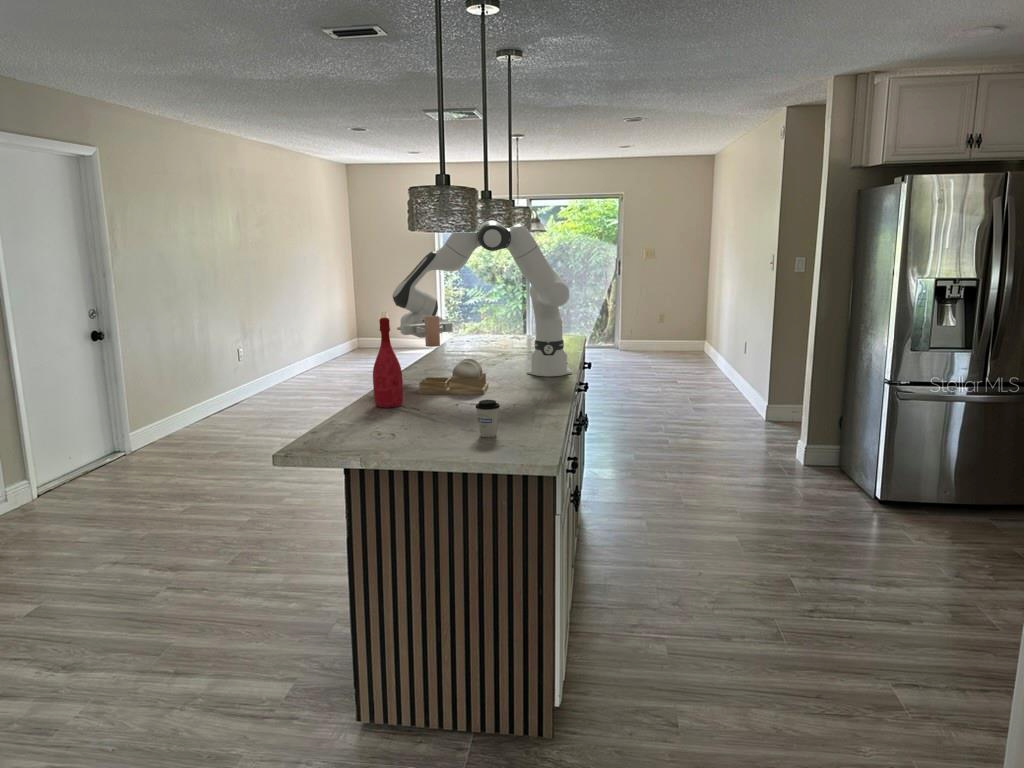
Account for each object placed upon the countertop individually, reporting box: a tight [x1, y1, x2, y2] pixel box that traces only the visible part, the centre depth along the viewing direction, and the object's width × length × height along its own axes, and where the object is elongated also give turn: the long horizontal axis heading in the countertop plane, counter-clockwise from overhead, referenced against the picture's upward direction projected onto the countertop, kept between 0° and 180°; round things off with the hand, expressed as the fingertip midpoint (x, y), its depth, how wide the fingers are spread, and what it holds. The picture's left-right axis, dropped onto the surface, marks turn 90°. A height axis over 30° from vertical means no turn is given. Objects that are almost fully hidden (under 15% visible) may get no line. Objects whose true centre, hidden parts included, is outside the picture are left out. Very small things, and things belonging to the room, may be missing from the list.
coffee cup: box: [475, 399, 501, 438], centre depth 194 cm, size 7×7×10 cm
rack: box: [418, 357, 489, 395], centre depth 255 cm, size 13×24×12 cm, turn 84°
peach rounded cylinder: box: [424, 315, 441, 348], centre depth 259 cm, size 6×6×11 cm
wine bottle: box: [372, 317, 404, 409], centre depth 231 cm, size 10×10×30 cm
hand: (433, 330), depth 258 cm, fingers closed on peach rounded cylinder, 5 cm apart
